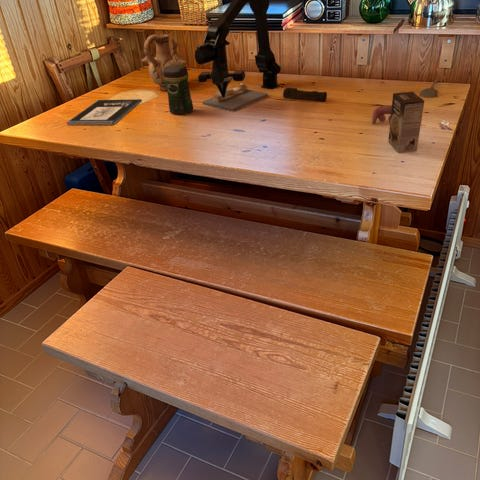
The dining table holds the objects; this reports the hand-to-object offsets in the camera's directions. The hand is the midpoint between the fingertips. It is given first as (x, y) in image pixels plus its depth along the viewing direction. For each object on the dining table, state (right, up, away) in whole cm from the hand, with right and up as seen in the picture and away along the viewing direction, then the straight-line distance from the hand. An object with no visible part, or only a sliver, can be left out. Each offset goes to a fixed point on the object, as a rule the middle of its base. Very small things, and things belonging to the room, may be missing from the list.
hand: (223, 97), depth 194 cm
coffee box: (+59, -30, -47) cm, 81 cm away
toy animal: (+59, -18, -29) cm, 68 cm away
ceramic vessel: (-26, +13, +28) cm, 41 cm away
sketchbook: (-51, -5, +7) cm, 52 cm away
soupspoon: (+86, +1, -5) cm, 86 cm away
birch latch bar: (+3, +3, +6) cm, 8 cm away
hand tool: (+33, -2, -2) cm, 33 cm away
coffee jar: (-17, -7, -2) cm, 19 cm away
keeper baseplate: (+5, 0, +5) cm, 7 cm away
